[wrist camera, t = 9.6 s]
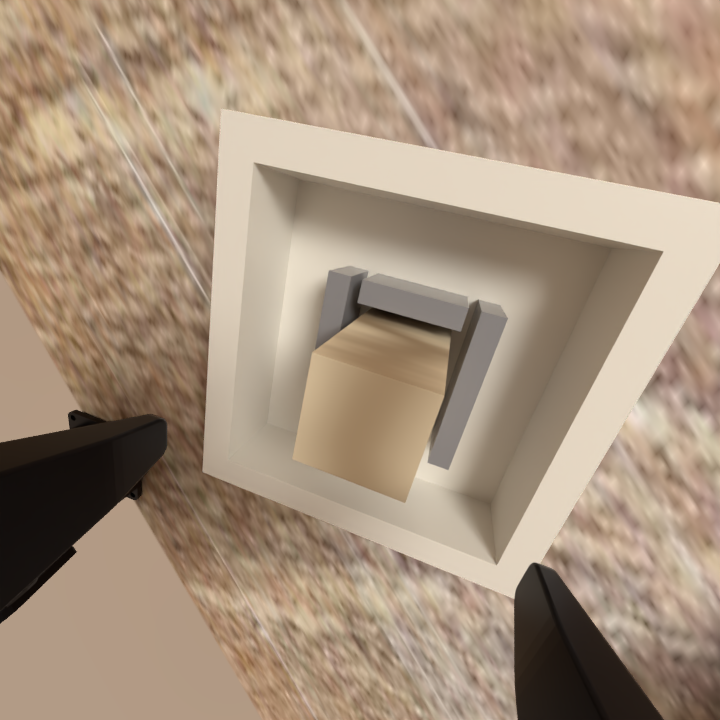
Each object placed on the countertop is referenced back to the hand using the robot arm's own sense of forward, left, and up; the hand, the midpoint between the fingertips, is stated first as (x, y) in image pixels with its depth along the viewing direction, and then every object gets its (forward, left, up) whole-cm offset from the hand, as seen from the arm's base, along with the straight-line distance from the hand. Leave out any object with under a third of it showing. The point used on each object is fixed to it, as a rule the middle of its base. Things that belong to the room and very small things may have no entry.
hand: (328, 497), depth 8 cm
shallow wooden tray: (0, 0, -12) cm, 12 cm away
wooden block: (0, 0, -11) cm, 11 cm away
